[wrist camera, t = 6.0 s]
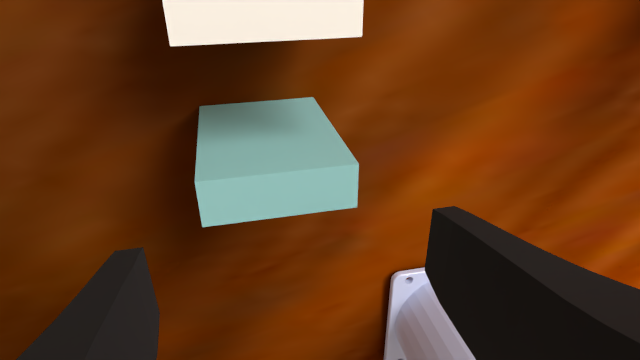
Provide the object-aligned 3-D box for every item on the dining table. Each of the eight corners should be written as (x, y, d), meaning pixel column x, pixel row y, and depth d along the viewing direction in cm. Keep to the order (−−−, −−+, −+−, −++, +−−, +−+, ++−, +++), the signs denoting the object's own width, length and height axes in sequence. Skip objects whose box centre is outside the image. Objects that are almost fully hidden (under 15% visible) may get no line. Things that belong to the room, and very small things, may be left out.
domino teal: (312, 97, 20) (358, 163, 14) (313, 130, 20) (357, 207, 14) (199, 106, 19) (194, 182, 13) (204, 140, 19) (202, 227, 13)
